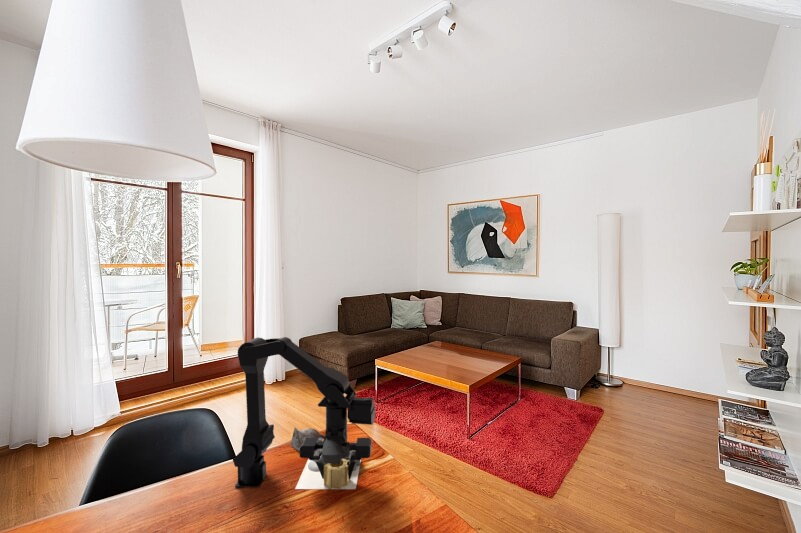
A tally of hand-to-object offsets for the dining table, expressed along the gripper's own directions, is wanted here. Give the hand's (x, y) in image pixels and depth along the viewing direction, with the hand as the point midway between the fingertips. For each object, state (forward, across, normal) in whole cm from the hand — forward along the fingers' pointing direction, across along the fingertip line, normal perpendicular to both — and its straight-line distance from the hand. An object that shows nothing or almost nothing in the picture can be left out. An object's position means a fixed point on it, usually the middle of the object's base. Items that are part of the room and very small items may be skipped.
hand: (336, 478), depth 99 cm
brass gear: (+1, 0, 0) cm, 1 cm away
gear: (+1, +2, +8) cm, 8 cm away
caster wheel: (+3, -11, +18) cm, 22 cm away
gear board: (+2, -2, +4) cm, 6 cm away
